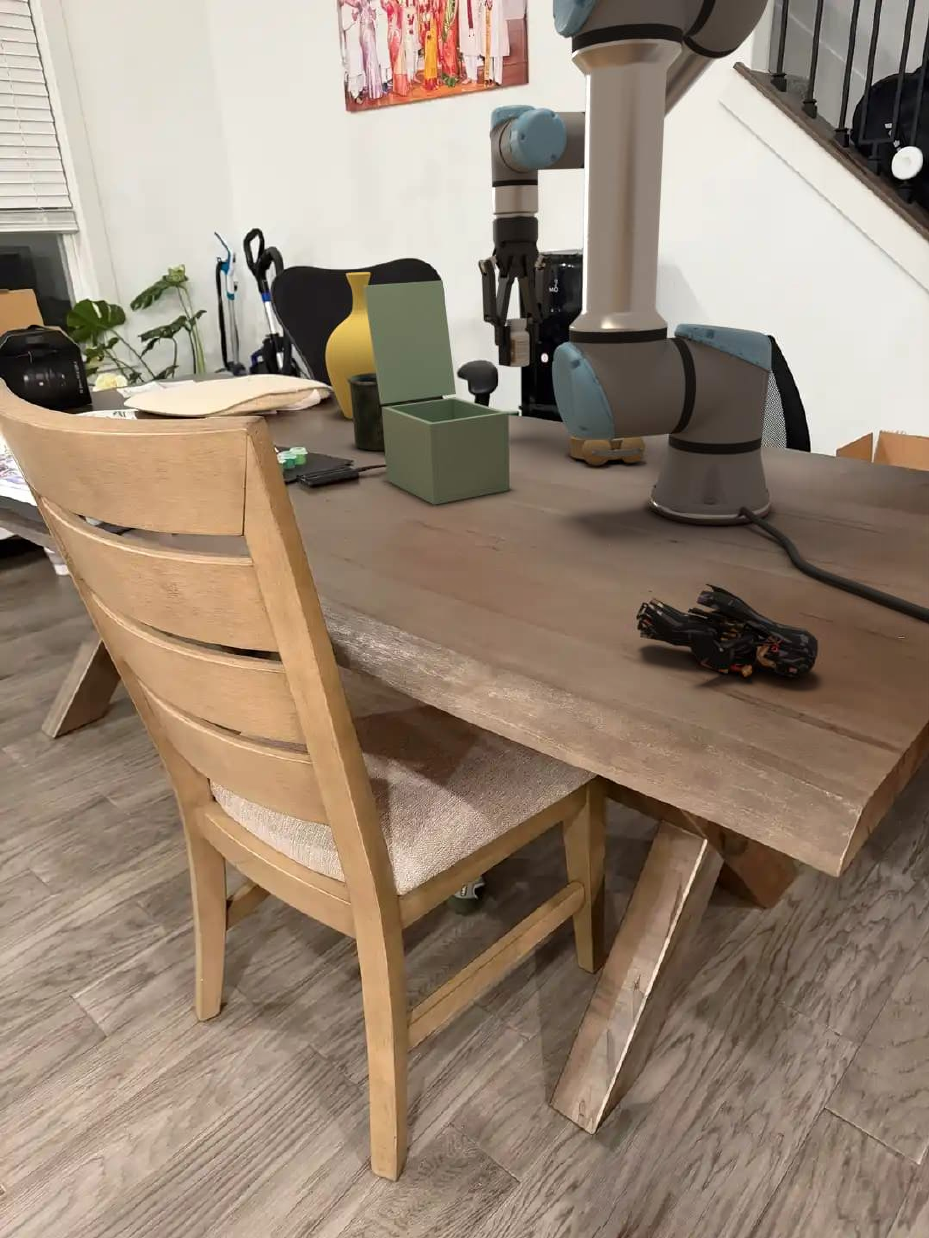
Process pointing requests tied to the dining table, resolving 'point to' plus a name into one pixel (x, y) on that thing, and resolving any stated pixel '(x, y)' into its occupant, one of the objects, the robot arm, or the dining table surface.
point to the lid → (410, 340)
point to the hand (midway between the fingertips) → (516, 363)
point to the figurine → (730, 635)
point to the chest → (446, 449)
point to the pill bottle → (518, 342)
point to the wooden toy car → (607, 450)
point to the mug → (368, 411)
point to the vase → (351, 345)
